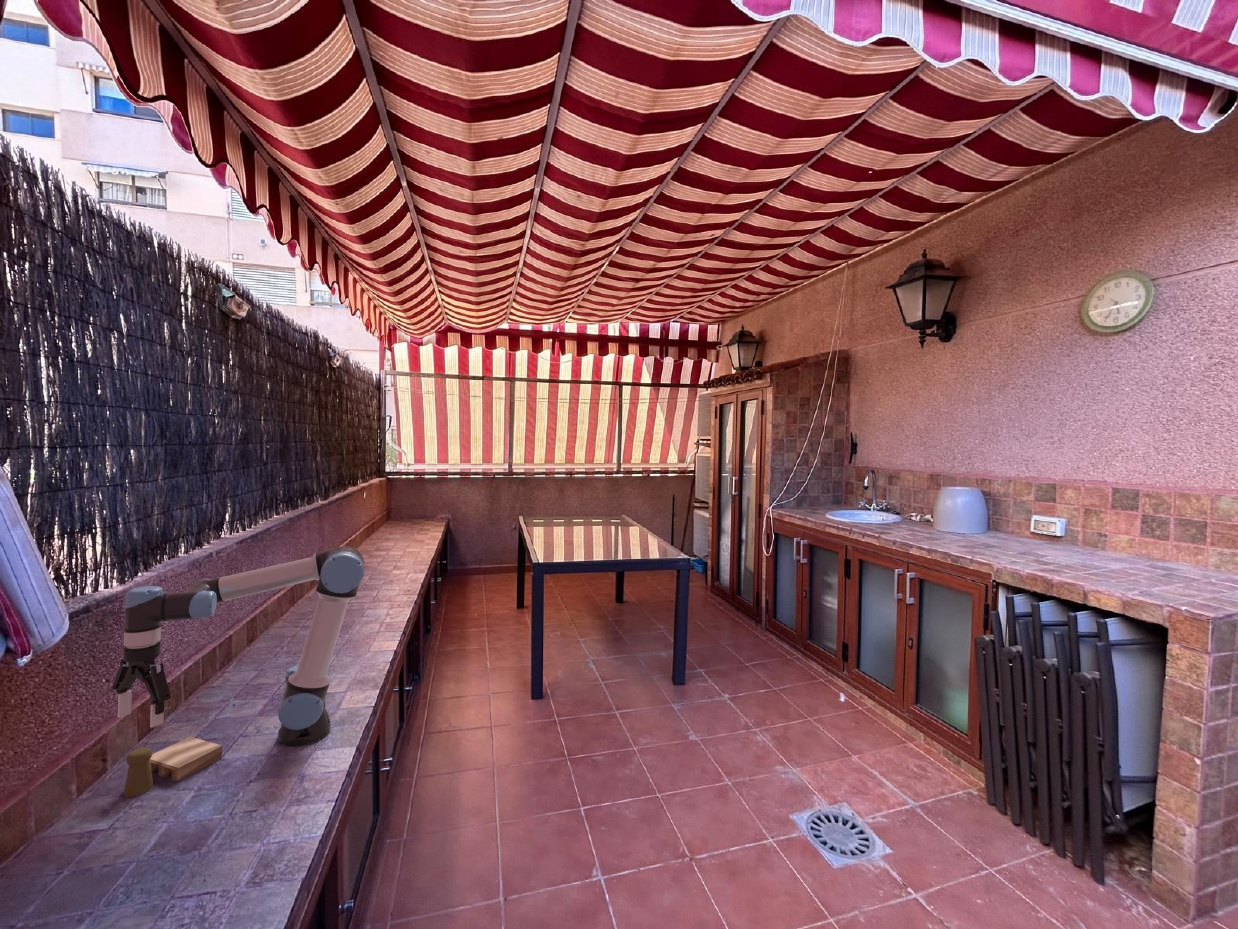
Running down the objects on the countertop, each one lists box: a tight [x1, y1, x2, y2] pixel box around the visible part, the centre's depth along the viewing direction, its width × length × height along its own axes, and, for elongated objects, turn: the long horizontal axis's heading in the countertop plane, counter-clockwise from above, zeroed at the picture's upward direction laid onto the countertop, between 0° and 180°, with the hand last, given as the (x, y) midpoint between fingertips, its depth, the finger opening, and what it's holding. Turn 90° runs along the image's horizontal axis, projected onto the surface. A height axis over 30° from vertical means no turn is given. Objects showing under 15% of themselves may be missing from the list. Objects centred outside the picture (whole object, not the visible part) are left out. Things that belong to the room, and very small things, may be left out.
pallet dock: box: [149, 736, 223, 782], centre depth 153 cm, size 14×12×4 cm
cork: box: [123, 747, 154, 798], centre depth 141 cm, size 6×6×11 cm
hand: (140, 720), depth 142 cm, fingers open, 13 cm apart
